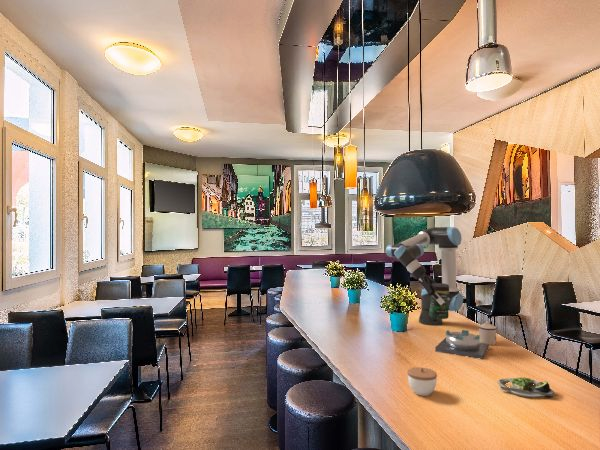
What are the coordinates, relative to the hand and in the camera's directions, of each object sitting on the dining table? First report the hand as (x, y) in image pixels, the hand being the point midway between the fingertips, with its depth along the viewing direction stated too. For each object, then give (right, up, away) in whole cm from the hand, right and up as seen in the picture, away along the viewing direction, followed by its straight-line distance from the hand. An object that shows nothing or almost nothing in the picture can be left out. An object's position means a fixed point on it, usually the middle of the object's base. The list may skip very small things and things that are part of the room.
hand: (445, 302), depth 199 cm
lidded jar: (-31, -23, -56) cm, 68 cm away
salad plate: (+11, -24, -53) cm, 59 cm away
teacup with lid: (+27, -25, +10) cm, 38 cm away
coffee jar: (-3, -9, +2) cm, 10 cm away
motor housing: (+8, -24, -3) cm, 26 cm away
